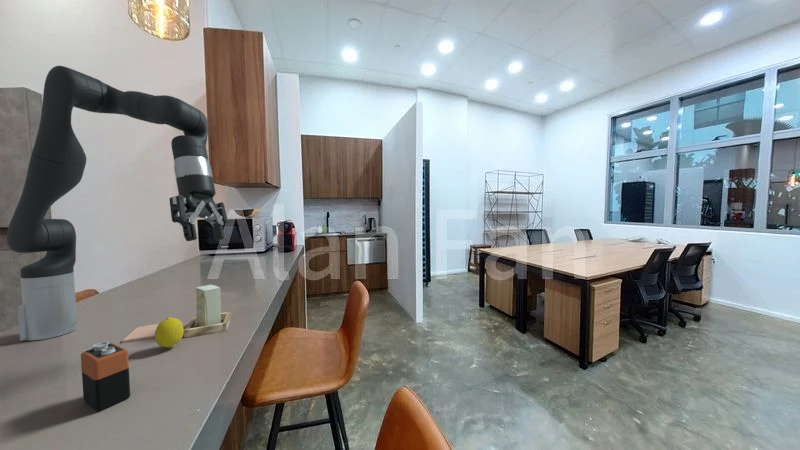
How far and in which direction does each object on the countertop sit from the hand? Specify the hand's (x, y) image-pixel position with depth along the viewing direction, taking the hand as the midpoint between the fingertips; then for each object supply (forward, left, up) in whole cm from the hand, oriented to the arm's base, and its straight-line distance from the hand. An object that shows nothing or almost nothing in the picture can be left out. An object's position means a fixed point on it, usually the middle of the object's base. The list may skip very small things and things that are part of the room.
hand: (206, 240), depth 67 cm
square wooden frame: (-3, +16, -27) cm, 32 cm away
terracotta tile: (-17, +20, -27) cm, 38 cm away
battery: (-14, -14, -28) cm, 34 cm away
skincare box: (-3, +16, -28) cm, 32 cm away
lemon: (-9, +5, -28) cm, 29 cm away
